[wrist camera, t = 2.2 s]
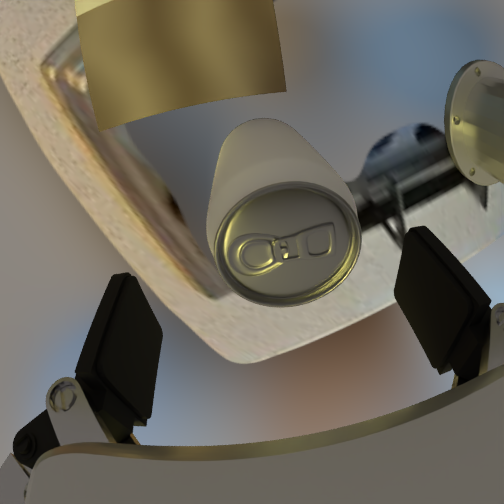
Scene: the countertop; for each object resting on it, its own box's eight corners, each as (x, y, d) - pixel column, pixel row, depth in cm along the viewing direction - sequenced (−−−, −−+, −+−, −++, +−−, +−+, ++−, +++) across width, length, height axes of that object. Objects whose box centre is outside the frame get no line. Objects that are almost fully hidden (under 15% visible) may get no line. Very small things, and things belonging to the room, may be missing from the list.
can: (209, 128, 19) (176, 195, 9) (298, 109, 18) (370, 155, 8) (231, 206, 23) (228, 326, 13) (312, 190, 22) (369, 296, 12)
